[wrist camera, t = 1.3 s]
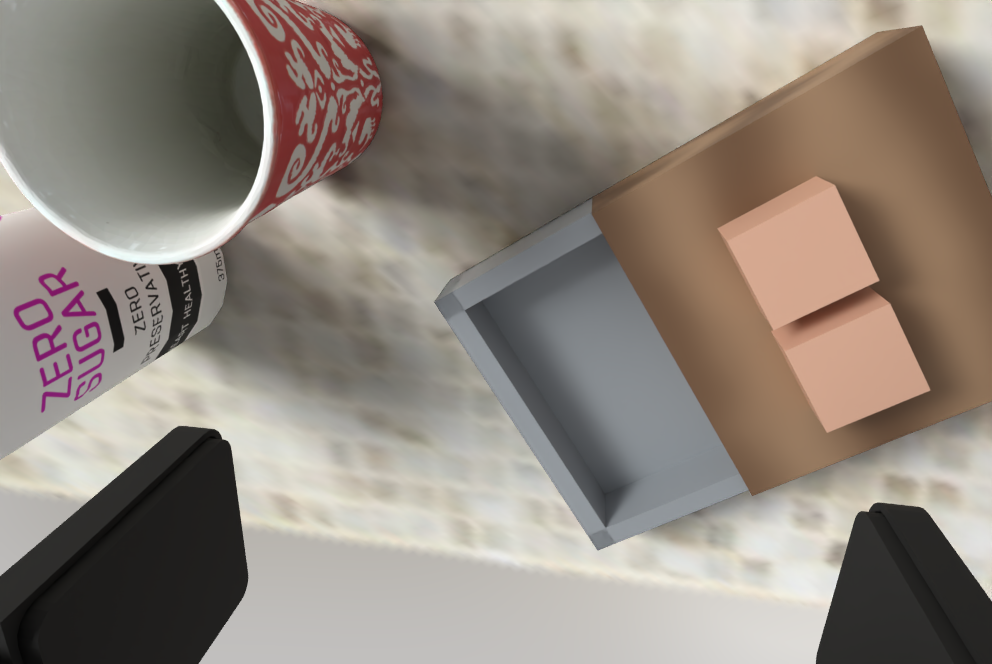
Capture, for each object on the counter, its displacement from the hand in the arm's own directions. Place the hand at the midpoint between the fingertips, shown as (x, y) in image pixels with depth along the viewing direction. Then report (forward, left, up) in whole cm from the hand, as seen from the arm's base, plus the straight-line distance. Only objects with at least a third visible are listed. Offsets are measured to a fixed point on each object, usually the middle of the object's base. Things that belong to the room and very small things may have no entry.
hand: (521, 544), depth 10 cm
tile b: (-7, +4, -19) cm, 21 cm away
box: (+3, +7, -23) cm, 24 cm away
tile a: (-7, +9, -19) cm, 23 cm away
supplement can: (+20, -9, -23) cm, 32 cm away
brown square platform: (-8, +7, -23) cm, 25 cm away
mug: (+8, -13, -23) cm, 28 cm away
